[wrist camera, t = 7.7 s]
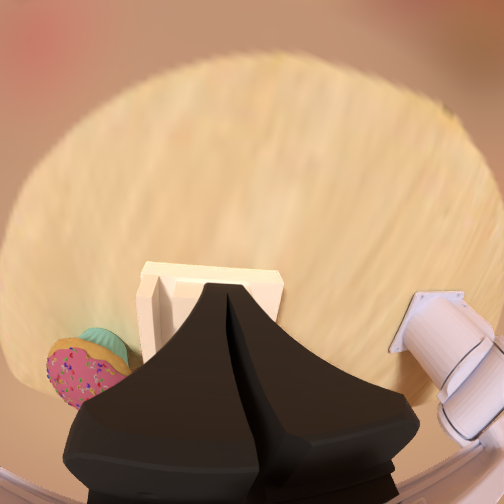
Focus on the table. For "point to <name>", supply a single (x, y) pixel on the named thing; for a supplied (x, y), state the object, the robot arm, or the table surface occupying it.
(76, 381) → the cupcake
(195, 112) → the table surface
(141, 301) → the cream lipped block
